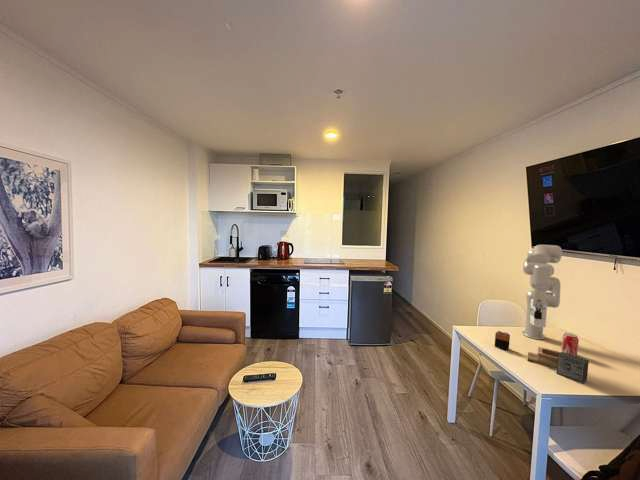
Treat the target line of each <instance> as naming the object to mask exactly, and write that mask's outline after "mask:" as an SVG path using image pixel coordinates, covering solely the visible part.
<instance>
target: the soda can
mask: <svg viewBox="0 0 640 480" xmlns="http://www.w3.org/2000/svg"><path fill="white" fill-rule="evenodd" d="M579 341H580V339H579V338H578V335H577V334H574V333H572V332H571V333H570V332H565V333H564V334H563V335H562V339H561V352H564V353H568V354H571V355H574V356H578V350H579Z"/></svg>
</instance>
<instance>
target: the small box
mask: <svg viewBox="0 0 640 480" xmlns="http://www.w3.org/2000/svg"><path fill="white" fill-rule="evenodd" d="M560 352H561V353H559V354H558V363H557V369H556V372H555V373H556V375H559V376H562V377H565V378H567V379H569V380H573V381H575V382H578V383H580V384H585V383H586V382H587V381H588V373H589V359H586V358H582V357H580V356H578V355H576V356H574V355H571V354H568V353H564V352H562V351H560Z"/></svg>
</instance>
